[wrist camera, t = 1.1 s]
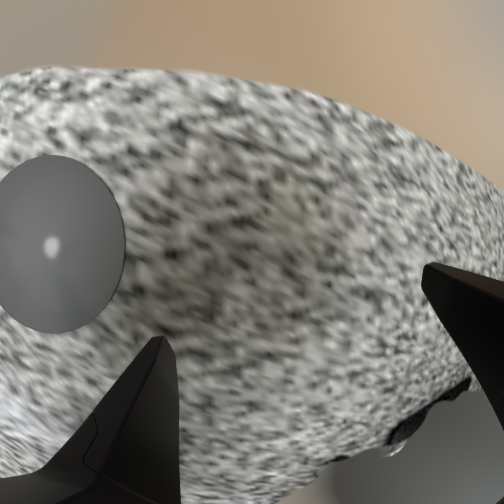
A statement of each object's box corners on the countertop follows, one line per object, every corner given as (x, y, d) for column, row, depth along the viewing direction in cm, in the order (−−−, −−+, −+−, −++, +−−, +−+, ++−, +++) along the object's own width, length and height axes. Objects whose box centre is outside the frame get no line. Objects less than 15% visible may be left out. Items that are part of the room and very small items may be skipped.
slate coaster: (48, 360, 15) (47, 363, 15) (-38, 235, 12) (-41, 235, 11) (161, 258, 18) (161, 259, 17) (65, 122, 14) (63, 120, 14)
